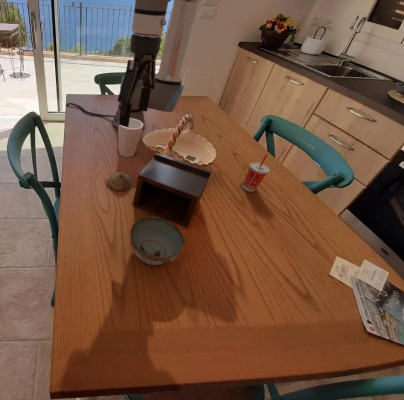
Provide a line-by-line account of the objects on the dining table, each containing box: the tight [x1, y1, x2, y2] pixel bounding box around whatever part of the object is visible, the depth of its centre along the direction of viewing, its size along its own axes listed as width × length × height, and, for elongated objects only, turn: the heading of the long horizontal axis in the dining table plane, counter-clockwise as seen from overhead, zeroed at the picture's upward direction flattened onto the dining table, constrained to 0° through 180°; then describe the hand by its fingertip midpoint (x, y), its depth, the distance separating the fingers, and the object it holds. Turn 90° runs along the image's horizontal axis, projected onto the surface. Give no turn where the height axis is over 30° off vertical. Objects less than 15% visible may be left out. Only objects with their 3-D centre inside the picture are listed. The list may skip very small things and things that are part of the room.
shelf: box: [132, 152, 212, 228], centre depth 83 cm, size 18×13×13 cm
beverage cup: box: [241, 153, 270, 193], centre depth 92 cm, size 6×6×14 cm
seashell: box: [107, 171, 132, 192], centre depth 94 cm, size 8×6×8 cm
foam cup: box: [117, 118, 144, 158], centre depth 106 cm, size 10×9×13 cm
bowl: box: [129, 216, 186, 267], centre depth 69 cm, size 14×13×8 cm
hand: (133, 117), depth 79 cm, fingers open, 13 cm apart
